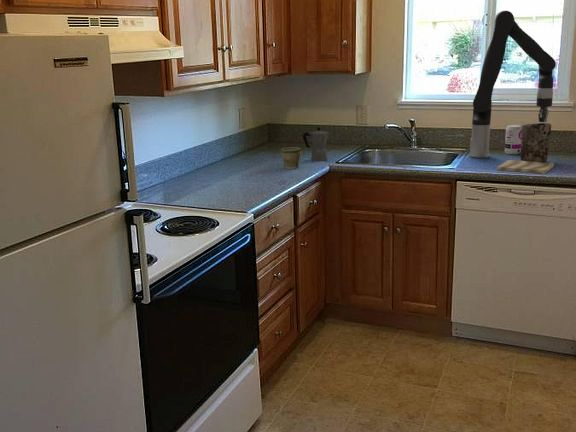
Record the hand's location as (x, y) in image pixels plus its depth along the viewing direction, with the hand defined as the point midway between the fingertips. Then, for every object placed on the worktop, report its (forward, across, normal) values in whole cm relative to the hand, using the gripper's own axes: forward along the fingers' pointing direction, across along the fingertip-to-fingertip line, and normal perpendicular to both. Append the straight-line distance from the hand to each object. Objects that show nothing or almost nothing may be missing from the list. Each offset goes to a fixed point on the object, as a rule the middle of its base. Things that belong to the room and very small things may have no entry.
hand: (542, 130), depth 327 cm
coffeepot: (+14, +55, -104) cm, 119 cm away
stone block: (+14, +15, 0) cm, 21 cm away
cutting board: (+14, +32, 0) cm, 35 cm away
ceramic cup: (+14, +79, -104) cm, 131 cm away
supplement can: (+14, -6, -16) cm, 22 cm away
